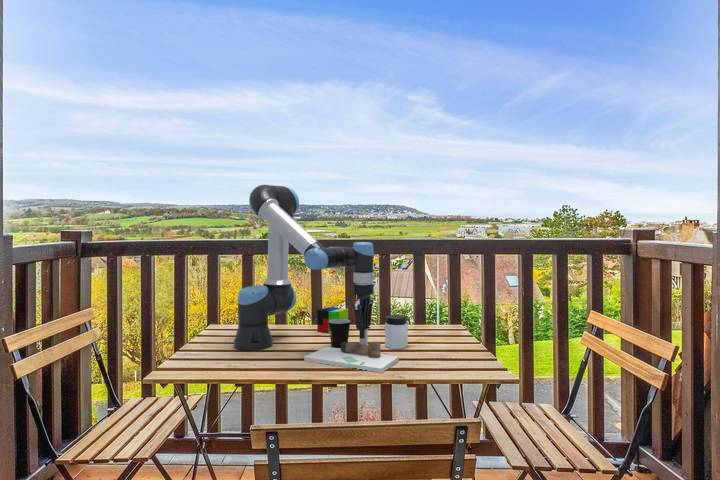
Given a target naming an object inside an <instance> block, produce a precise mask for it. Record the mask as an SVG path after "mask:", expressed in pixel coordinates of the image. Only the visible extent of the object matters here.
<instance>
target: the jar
mask: <svg viewBox="0 0 720 480" xmlns="http://www.w3.org/2000/svg"><path fill="white" fill-rule="evenodd" d="M407 318H408V317H407V315H403V314H388V315H386V316H385V323H384V346H385V347H386V348H388V349H390V350H403V349H406V348H408V345H409V343H408V341H409V340H408V339H409V337H408V334H409V333H408V332H409V331H408V327H409V324H408V322H407V321H408V320H407Z"/></svg>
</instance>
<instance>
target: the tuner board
mask: <svg viewBox="0 0 720 480" xmlns="http://www.w3.org/2000/svg"><path fill="white" fill-rule="evenodd" d="M303 359H304V362H310V363H314V364H320V363H321V364H322V365H327V364H329V365H328V366H333V365H337V366H336V367H339V366H344V367H343V368H346V367H350V368H349V369H352V368H357V369H356V370H359V369H362V370H361V371H365V370H367V371H366V372H371V371H373V372H372V373H378V372H379V373H378V374H383V373H384V372H385V371H387V370H388V369H390V368H391V367H392V366H394V365H395V364H396V363H398V362H399V361H400V356H396V355H390V354H383V353H380V357H369V356H368V355H365V354H357V353H350V352H342V351H341V348H333V347H332V346H324V347H323V348H320V349H317V350H316V351H314V352H312V353H310V354H307V355H305V356H304V358H303Z"/></svg>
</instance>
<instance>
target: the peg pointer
mask: <svg viewBox="0 0 720 480" xmlns="http://www.w3.org/2000/svg"><path fill="white" fill-rule="evenodd" d="M340 349H341V351H342V352H350V353H357V354H365V355H368V356H369V357H380V354H381V342H380V341H379V342H378V341H369V342H368V345H364V344H359V343H355V342H349V341H348V342H342V343H341V348H340Z"/></svg>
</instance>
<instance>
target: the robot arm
mask: <svg viewBox="0 0 720 480" xmlns="http://www.w3.org/2000/svg"><path fill="white" fill-rule="evenodd" d="M248 201H249V206H250V208H251V210H252V211H253V213H254V214H255V215H256V216H257V217H258V218H259V219H260V220H262V221H264V220H265V221H266V222H267V223H268V232H267V235H268V237H267V244H268V245H267V273H266V274H267V277H266V279H265V280H264V281H263V284H262V285H259V284H258V285H253V286H252V285H250V286H245V287H243V288H241V289H240V290H239V291H238V294H237V295H238V296H237V298H238V299H237V312H238V313H237V315H238V316H237V317H238V318H237V319H238V320H237V321H238V322H237V323H238V325H237V326H238V327H237V330H236V333H235V337H234V340H233V348H234V349H237V350H241V351H258V350H263V349H267V348H270V347H272V346H273V337H272V333H271V330H270V327H269V317H272V316H275V315H279V314H285V313H286V312H287V313H288V312H290V311H291V310H292V309H293V308H294V306H295V305H296V301H297V292H296V291H295V289H294V287H293V286H292V281H291V280H290V279H289V247H290V246H289V244H290V245H292V246H293V248H294V249H295V250H296V251H298V253H300V255H302V256H303V257H304V258H303V259H304V260H303V261H304V264H305V266H306V267H307V268H308V269H310V270H315V271H316V270H317V271H319V270H325V269H326V270H327V269H333V268H343V267H344V268H353V269H352V270H353V275H352V276H353V278H352V279H353V281H352V282H353V283H354V284H352V287H353V292H352V293H353V294H354V295H356V302H355V303H354V304H352V307H353V308H352V309H353V311H354V312H353V313H354V320H355V328H356V330H359V333H358V335H359V337H358V338H359V343H358V344H364V345H368V343H369V342H368V340H369V336H368V335H369V334H368V333H369V330H370V329H371V324H372V313H373V312H372V311H373V305H374V299H371V295H374V291H375V290H374V289H375V288H374V284H373V283H374V278H375V275H374V255H375V253H374V244H373V243H372V242H368V241H357V242H354V243H353V245H352V246H351V247H349V246H348V247H347V246H330V247H325V246H323V245H322V244H321V243H320V242H319V240H317V239H316V238H314V237H313V236H312V235H311V233H309V232H308V231H307V230H306V229H305V228H304V227H302V226H301V225H300V224H299V222H297V221H296V219H294V214H295V213H296V212H297V210H298V209H299V206H300V199H299V196H298V194H297V193H296V191H295V190H294V189H293V188H291V187H288V186H283V185H282V186H281V185H271V184H260V185H257V186H255V188H254V189H252V191H251V192H250V194H249V199H248Z"/></svg>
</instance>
